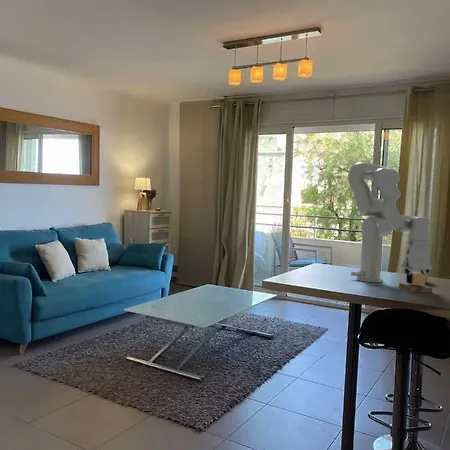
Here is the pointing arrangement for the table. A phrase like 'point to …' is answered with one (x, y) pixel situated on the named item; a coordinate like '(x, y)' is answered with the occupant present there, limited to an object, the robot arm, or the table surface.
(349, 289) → the table surface
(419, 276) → the cap
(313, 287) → the table surface
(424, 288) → the post plinth
